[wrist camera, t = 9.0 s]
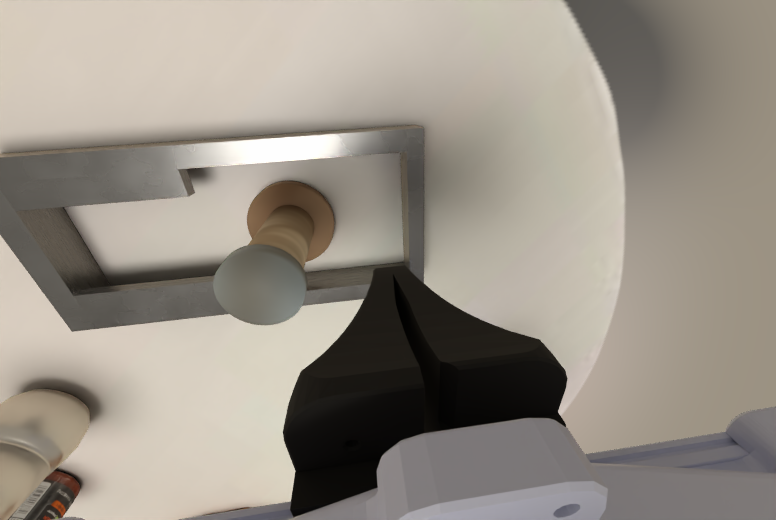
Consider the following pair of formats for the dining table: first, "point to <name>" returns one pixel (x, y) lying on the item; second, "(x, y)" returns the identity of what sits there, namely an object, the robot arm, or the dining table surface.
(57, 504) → the supplement bottle
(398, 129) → the keyhole plate
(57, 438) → the plastic bottle
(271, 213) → the peg
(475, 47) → the dining table surface
